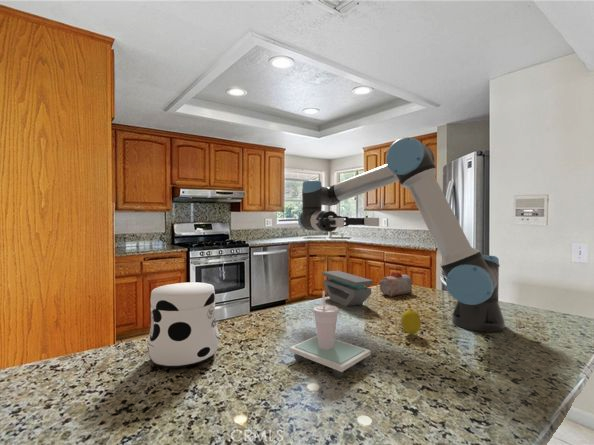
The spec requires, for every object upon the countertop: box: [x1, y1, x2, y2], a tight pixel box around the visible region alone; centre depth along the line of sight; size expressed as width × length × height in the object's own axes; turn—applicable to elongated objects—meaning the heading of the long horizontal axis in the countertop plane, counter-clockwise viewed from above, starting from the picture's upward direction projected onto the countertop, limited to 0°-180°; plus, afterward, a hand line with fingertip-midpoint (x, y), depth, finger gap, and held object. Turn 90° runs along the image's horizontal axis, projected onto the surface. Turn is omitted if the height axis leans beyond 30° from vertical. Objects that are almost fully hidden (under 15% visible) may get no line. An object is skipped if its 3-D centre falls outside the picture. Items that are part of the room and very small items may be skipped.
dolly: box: [288, 335, 371, 379], centre depth 82 cm, size 16×12×4 cm
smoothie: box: [312, 290, 340, 350], centre depth 82 cm, size 6×6×14 cm
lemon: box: [400, 308, 422, 336], centre depth 99 cm, size 6×6×8 cm
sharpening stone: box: [321, 270, 374, 307], centre depth 137 cm, size 25×8×11 cm, turn 26°
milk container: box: [146, 281, 220, 369], centre depth 85 cm, size 17×17×18 cm
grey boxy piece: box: [379, 271, 413, 297], centre depth 150 cm, size 14×8×10 cm, turn 116°
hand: (361, 222), depth 102 cm, fingers open, 13 cm apart
